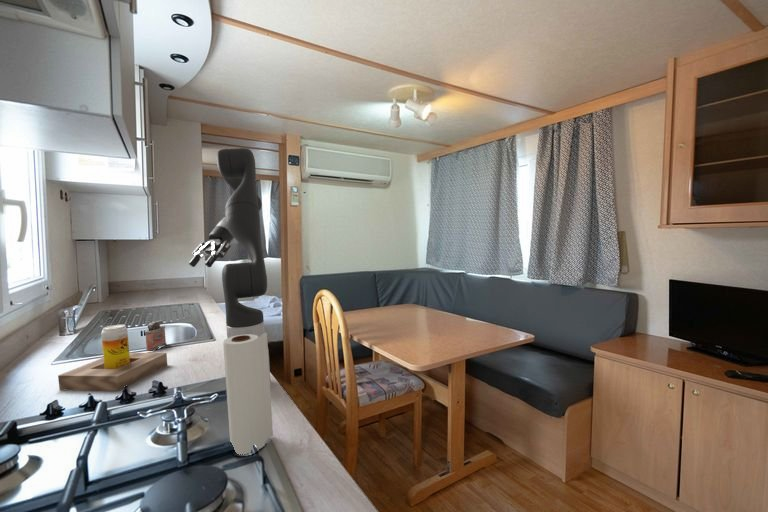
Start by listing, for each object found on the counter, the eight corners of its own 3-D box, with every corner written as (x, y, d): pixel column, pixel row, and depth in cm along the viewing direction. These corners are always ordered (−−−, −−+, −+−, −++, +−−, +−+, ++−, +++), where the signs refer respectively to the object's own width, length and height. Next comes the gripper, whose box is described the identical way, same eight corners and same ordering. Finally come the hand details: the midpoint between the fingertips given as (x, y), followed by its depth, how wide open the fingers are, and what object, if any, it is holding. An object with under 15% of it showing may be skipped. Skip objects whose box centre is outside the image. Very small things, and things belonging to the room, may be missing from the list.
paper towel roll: (227, 460, 63) (218, 344, 61) (234, 441, 69) (227, 334, 67) (268, 454, 64) (261, 340, 63) (273, 436, 70) (266, 331, 68)
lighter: (151, 352, 125) (149, 324, 125) (143, 352, 126) (141, 324, 125) (169, 345, 133) (167, 319, 132) (161, 344, 134) (159, 319, 133)
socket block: (167, 365, 112) (166, 353, 111) (118, 390, 94) (117, 376, 94) (116, 364, 114) (115, 352, 113) (59, 389, 96) (58, 375, 96)
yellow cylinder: (120, 380, 101) (116, 329, 100) (100, 380, 101) (95, 330, 100) (136, 372, 107) (131, 323, 106) (116, 372, 107) (112, 324, 106)
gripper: (205, 225, 132) (178, 258, 122) (231, 224, 125) (205, 258, 116) (218, 239, 137) (193, 271, 127) (244, 238, 130) (220, 272, 121)
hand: (199, 265), depth 122 cm, fingers open, 8 cm apart
